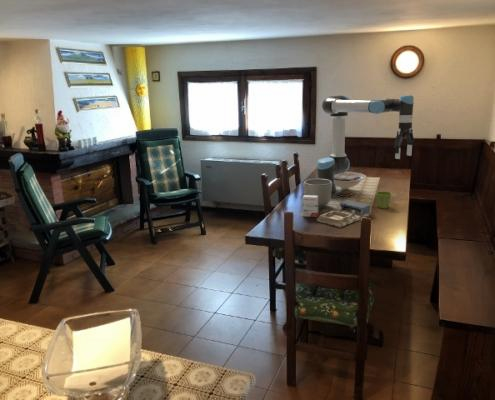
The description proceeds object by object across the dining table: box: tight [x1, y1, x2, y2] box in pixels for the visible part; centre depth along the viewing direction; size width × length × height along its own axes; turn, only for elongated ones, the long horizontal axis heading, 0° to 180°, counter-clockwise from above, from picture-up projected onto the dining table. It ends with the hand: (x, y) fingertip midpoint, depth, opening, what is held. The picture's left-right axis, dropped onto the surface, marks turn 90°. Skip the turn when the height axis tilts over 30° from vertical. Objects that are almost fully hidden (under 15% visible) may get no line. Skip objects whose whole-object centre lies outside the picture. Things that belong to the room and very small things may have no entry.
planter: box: [303, 178, 332, 210], centre depth 253 cm, size 17×17×16 cm
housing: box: [339, 199, 371, 215], centre depth 238 cm, size 8×15×4 cm, turn 41°
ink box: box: [301, 195, 319, 218], centre depth 238 cm, size 9×5×12 cm, turn 71°
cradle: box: [316, 207, 371, 228], centre depth 232 cm, size 28×16×4 cm, turn 131°
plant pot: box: [375, 191, 393, 209], centre depth 248 cm, size 9×9×9 cm
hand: (403, 157), depth 252 cm, fingers open, 13 cm apart
